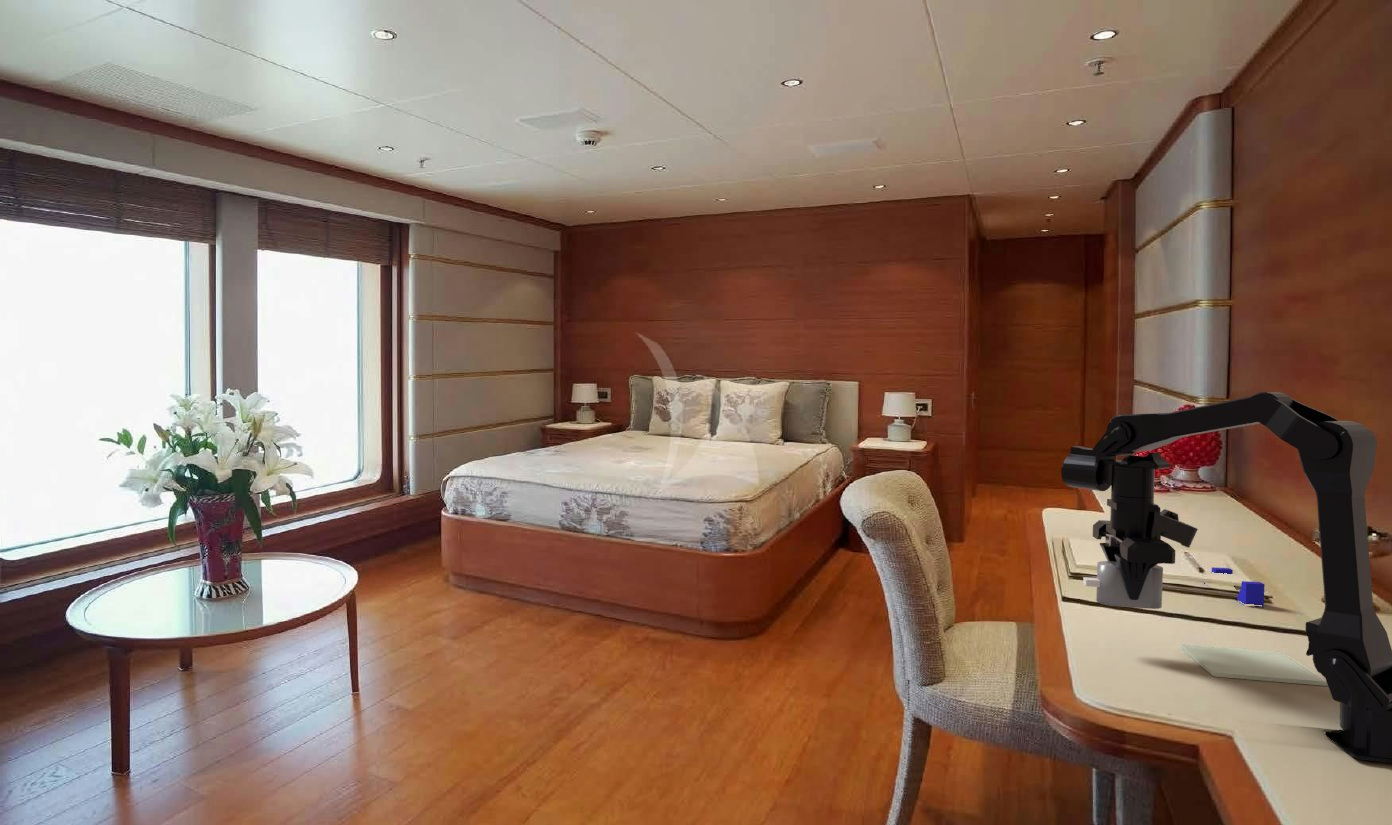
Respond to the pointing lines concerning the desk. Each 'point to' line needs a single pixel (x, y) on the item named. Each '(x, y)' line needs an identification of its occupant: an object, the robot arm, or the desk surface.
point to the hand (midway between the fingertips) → (1129, 595)
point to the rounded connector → (1116, 593)
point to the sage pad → (1251, 664)
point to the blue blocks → (1247, 589)
